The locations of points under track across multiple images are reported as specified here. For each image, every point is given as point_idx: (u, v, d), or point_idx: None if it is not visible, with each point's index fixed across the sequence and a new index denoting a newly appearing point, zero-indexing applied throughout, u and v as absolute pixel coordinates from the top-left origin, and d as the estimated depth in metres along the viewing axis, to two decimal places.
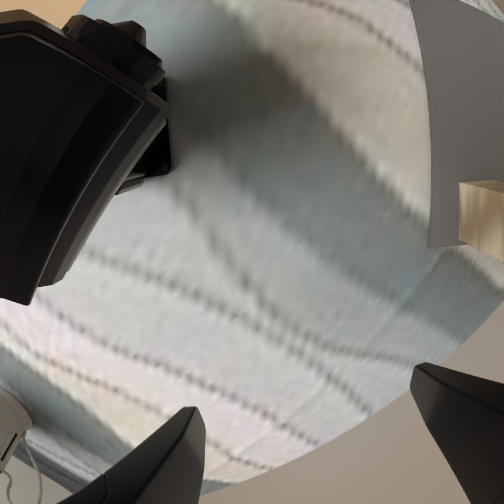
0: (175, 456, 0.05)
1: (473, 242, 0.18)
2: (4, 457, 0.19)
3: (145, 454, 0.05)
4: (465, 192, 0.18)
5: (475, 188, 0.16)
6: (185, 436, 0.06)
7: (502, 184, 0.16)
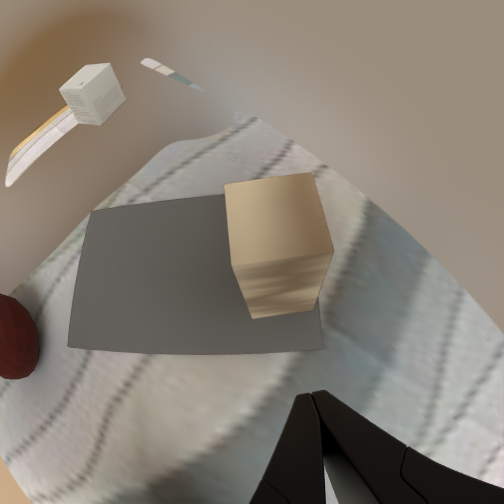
0: None
1: (310, 303, 0.20)
2: None
3: (296, 447, 0.05)
4: (260, 315, 0.21)
5: (252, 311, 0.20)
6: (320, 422, 0.06)
7: None
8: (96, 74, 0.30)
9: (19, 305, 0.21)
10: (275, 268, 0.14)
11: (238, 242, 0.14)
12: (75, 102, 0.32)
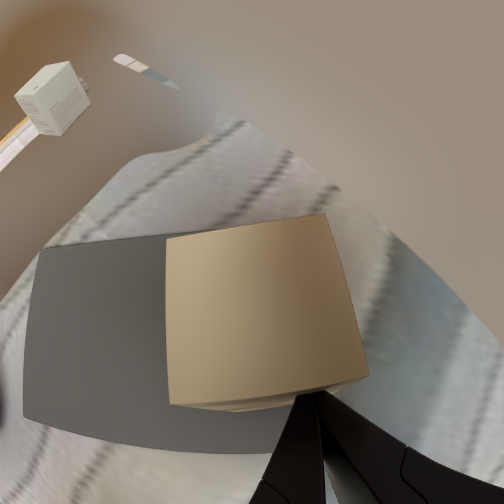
0: None
1: None
2: None
3: (296, 447, 0.05)
4: (246, 410, 0.14)
5: (232, 411, 0.13)
6: (320, 422, 0.06)
7: None
8: (52, 75, 0.23)
9: None
10: (257, 399, 0.07)
11: (183, 358, 0.07)
12: (31, 110, 0.24)
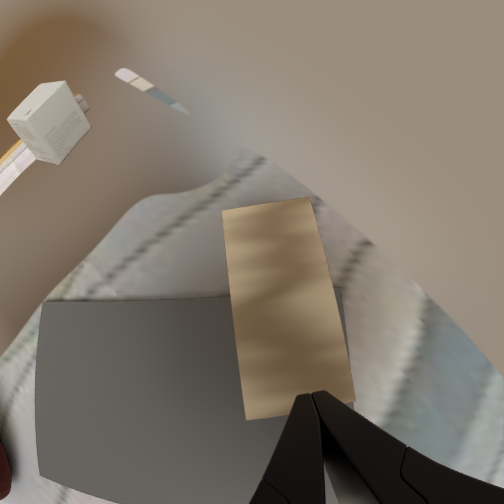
0: None
1: (340, 357, 0.12)
2: None
3: (296, 447, 0.05)
4: (259, 400, 0.11)
5: (243, 372, 0.12)
6: (320, 422, 0.06)
7: None
8: (46, 98, 0.21)
9: None
10: (261, 221, 0.15)
11: None
12: (25, 135, 0.23)
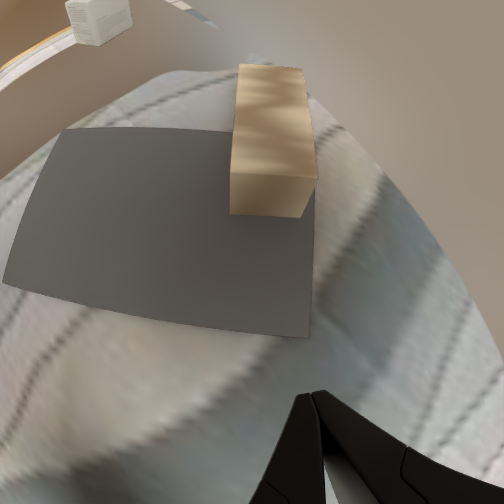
0: None
1: (309, 148, 0.16)
2: None
3: (296, 447, 0.05)
4: (243, 160, 0.15)
5: (235, 142, 0.15)
6: (320, 422, 0.06)
7: None
8: None
9: None
10: (266, 72, 0.18)
11: None
12: (78, 18, 0.23)
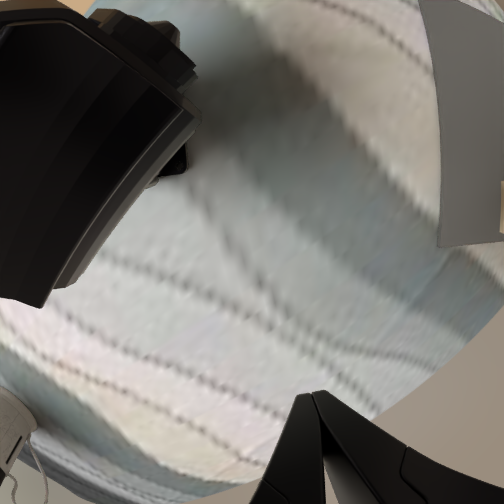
0: None
1: None
2: (9, 460, 0.19)
3: (296, 447, 0.05)
4: None
5: None
6: (320, 422, 0.06)
7: None
8: None
9: None
10: None
11: None
12: None
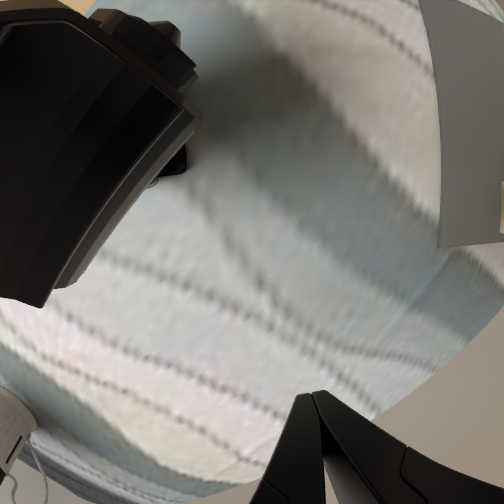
0: None
1: None
2: (9, 460, 0.19)
3: (296, 447, 0.05)
4: None
5: None
6: (319, 422, 0.06)
7: None
8: None
9: None
10: None
11: None
12: None
